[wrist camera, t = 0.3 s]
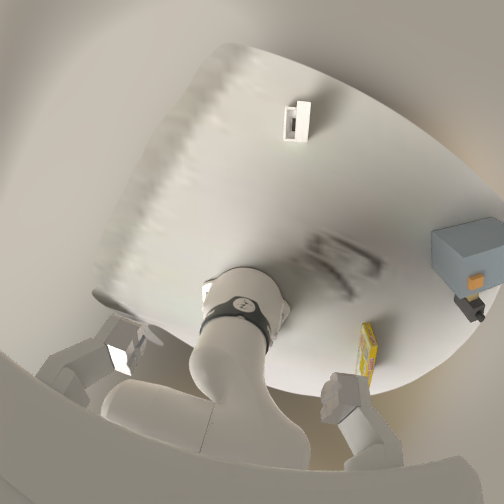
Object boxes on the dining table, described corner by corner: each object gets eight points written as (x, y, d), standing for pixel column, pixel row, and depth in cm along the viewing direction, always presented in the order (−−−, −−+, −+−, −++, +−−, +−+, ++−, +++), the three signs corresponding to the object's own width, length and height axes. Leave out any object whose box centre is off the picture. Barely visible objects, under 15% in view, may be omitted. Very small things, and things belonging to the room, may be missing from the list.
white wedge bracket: (308, 84, 37) (310, 102, 32) (304, 135, 45) (305, 160, 40) (286, 82, 38) (283, 99, 32) (284, 133, 46) (281, 158, 40)
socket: (490, 249, 44) (525, 277, 31) (431, 267, 48) (462, 302, 35) (492, 216, 41) (531, 239, 29) (431, 231, 46) (467, 260, 33)
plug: (465, 297, 49) (486, 323, 39) (453, 300, 50) (474, 328, 40) (468, 269, 47) (492, 293, 37) (456, 272, 48) (480, 298, 38)
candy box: (363, 370, 61) (368, 395, 54) (355, 371, 62) (359, 396, 54) (370, 322, 55) (379, 346, 48) (361, 323, 56) (369, 347, 48)
